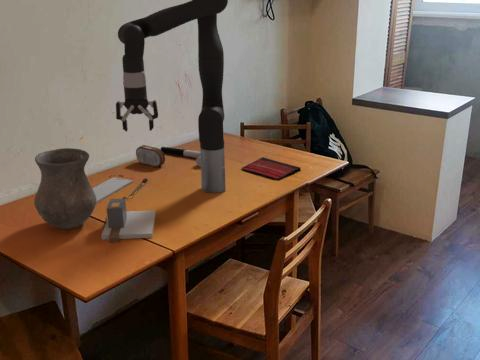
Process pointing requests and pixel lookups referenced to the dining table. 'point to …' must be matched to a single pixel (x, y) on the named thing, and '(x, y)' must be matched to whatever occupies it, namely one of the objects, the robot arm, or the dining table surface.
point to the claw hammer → (183, 153)
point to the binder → (271, 168)
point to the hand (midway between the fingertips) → (138, 130)
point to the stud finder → (116, 213)
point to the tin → (150, 156)
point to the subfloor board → (132, 226)
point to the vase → (64, 188)
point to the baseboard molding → (110, 187)
